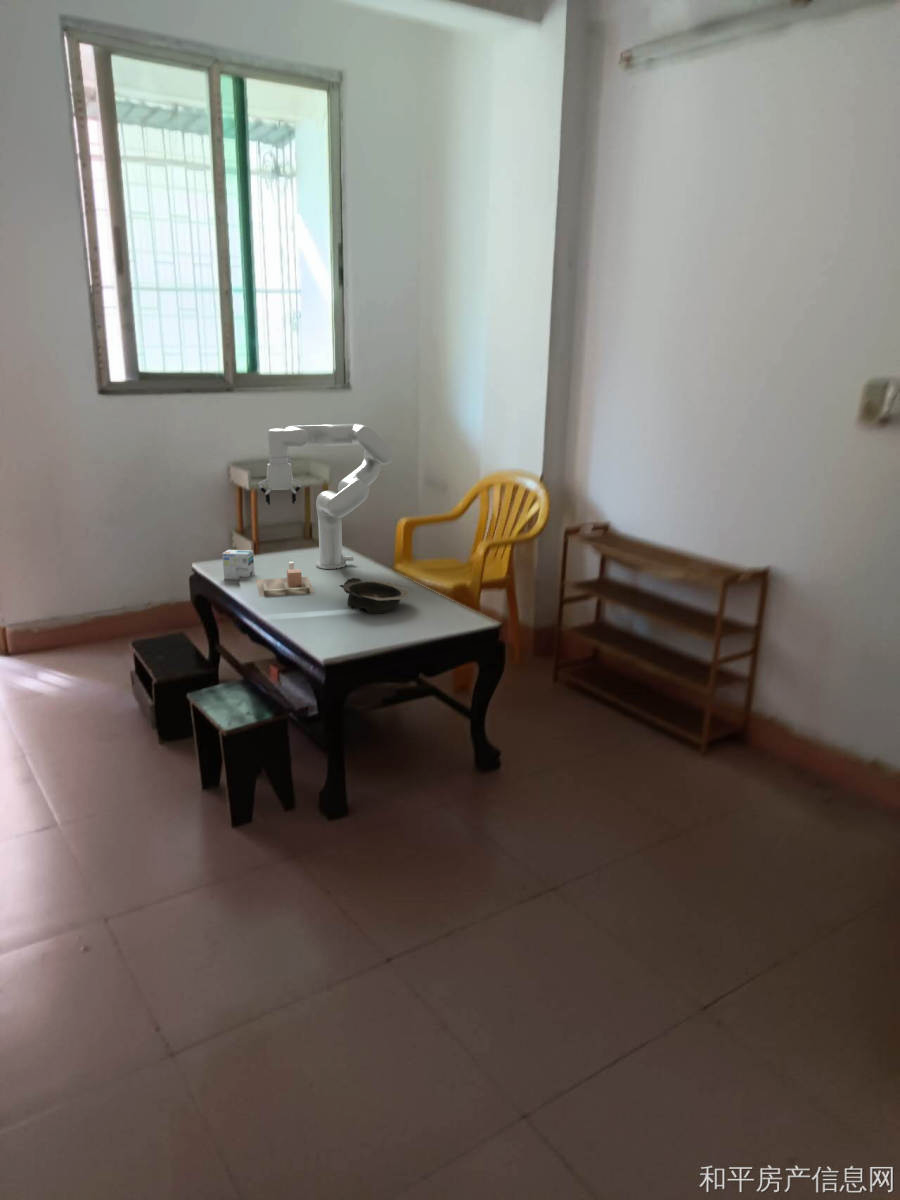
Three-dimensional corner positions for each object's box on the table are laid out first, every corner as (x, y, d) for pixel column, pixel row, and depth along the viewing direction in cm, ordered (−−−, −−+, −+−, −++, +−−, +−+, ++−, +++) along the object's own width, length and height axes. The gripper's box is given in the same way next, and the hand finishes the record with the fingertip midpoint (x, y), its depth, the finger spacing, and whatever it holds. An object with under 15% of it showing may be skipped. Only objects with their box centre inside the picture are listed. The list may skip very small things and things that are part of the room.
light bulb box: (255, 575, 333) (253, 549, 329) (249, 580, 326) (248, 554, 323) (229, 574, 333) (227, 548, 330) (223, 579, 327) (221, 553, 324)
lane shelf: (307, 580, 327) (307, 571, 326) (314, 596, 307) (314, 587, 306) (256, 583, 322) (255, 574, 321) (259, 600, 302) (259, 591, 301)
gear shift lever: (298, 576, 328) (297, 561, 326) (301, 584, 316) (301, 569, 314) (285, 576, 326) (284, 562, 324) (288, 585, 315) (288, 570, 313)
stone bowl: (325, 608, 294) (326, 583, 292) (373, 597, 314) (373, 573, 311) (377, 622, 280) (378, 595, 278) (423, 609, 299) (424, 584, 297)
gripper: (300, 458, 331) (301, 501, 336) (256, 459, 326) (258, 502, 332) (302, 461, 324) (303, 504, 329) (257, 462, 319) (259, 506, 325)
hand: (281, 503), depth 330 cm, fingers open, 9 cm apart
